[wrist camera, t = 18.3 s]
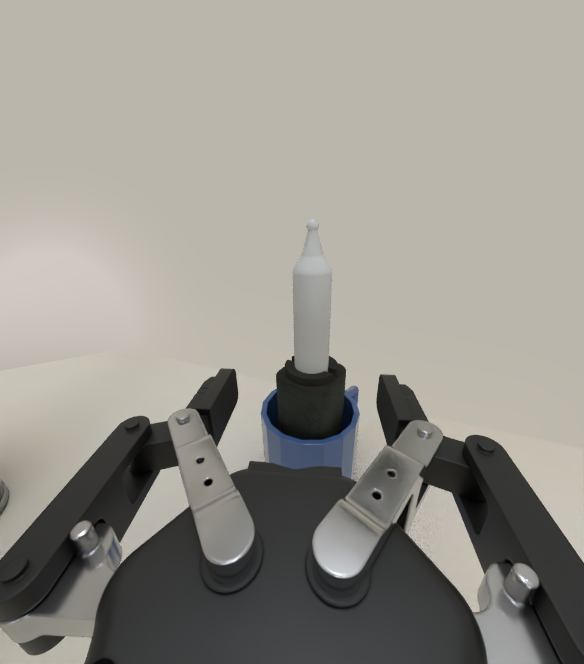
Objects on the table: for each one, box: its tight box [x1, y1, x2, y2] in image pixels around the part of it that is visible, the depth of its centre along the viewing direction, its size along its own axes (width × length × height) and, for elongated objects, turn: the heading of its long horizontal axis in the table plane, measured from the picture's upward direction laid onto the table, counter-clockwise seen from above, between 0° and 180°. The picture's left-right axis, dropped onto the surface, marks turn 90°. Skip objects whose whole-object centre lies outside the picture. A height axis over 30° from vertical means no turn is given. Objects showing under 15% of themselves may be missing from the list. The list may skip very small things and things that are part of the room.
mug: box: [261, 386, 360, 480], centre depth 29 cm, size 12×9×10 cm
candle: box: [276, 220, 346, 440], centre depth 24 cm, size 5×5×25 cm
